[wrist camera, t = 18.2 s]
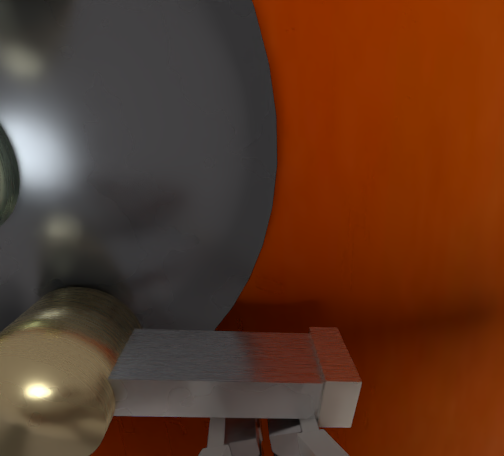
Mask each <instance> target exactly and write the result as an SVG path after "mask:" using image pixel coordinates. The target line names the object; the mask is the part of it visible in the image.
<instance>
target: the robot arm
mask: <svg viewBox="0 0 504 456" xmlns="http://www.w3.org/2000/svg"><path fill="white" fill-rule="evenodd" d="M268 428H269V437H270V442H271V447H272V452H274V456H349V455H348V454H347V453H346V452H345V451H344V450H343V449H342V448H341V447H340V446H339V444H338V443H337V442H336V441H335V440H334V439H333V438H332V437H331V436H330V435H329V434H328V433H327V432H326V431H325V430H324V429H320V430H319V427H318V424H317V420H316V419H285V418H268ZM262 440H263V435H262V425H261V418H220V417H210V424H209V433H208V443H207V448H203V449H202V450H201V452H200V453H199V455H198V456H264V452H263V448H262V443H261V442H262Z"/></svg>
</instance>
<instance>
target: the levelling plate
mask: <svg viewBox="0 0 504 456" xmlns="http://www.w3.org/2000/svg"><path fill="white" fill-rule="evenodd" d="M276 169H277V132H276V111H275V104H274V97H273V90H272V83H271V75H270V68H269V63H268V59H267V55H266V51H265V47H264V43H263V39H262V36H261V32H260V28H259V24H258V20H257V16H256V13H255V9H254V6H253V3H252V0H0V332H1V331H3V330H4V329H5V328H6V327H7V326H8V325H10V324H11V323H12V322H13V321H14V320H16V319H17V318H18V317H19V316H20V315H21V314H23V313H24V312H25V311H26V310H27V309H29V308H30V307H31V306H32V305H33V304H34V303H36V302H37V301H38V300H39V299H40V298H42V297H43V296H44V295H46V294H48V293H50V292H52V291H54V290H57V289H61V288H67V287H85V288H91V289H96V290H99V291H102V292H105V293H107V294H109V295H111V296H113V297H115V298H117V299H118V300H120V301H121V302H122V303H124V304H125V305H126V306H127V307H128V308H129V309H130V310H131V311H132V312H133V313H134V314H135V316H136V317H137V319H138V320H139V322H140V324H141V327H142V329H165V330H201V331H214V330H215V329H216V327H217V326H218V325H219V324H220V322H221V321H222V320H223V318H224V317H225V316H226V315H227V313H228V312H229V311H230V310H231V308H232V307H233V305H234V304H235V302H236V300H237V298H238V297H239V295H240V293H241V292H242V290H243V288H244V286H245V285H246V283H247V281H248V279H249V278H250V275H251V273H252V270H253V268H254V265H255V263H256V260H257V258H258V255H259V253H260V250H261V248H262V245H263V242H264V238H265V234H266V230H267V226H268V222H269V218H270V214H271V210H272V204H273V196H274V187H275V178H276Z"/></svg>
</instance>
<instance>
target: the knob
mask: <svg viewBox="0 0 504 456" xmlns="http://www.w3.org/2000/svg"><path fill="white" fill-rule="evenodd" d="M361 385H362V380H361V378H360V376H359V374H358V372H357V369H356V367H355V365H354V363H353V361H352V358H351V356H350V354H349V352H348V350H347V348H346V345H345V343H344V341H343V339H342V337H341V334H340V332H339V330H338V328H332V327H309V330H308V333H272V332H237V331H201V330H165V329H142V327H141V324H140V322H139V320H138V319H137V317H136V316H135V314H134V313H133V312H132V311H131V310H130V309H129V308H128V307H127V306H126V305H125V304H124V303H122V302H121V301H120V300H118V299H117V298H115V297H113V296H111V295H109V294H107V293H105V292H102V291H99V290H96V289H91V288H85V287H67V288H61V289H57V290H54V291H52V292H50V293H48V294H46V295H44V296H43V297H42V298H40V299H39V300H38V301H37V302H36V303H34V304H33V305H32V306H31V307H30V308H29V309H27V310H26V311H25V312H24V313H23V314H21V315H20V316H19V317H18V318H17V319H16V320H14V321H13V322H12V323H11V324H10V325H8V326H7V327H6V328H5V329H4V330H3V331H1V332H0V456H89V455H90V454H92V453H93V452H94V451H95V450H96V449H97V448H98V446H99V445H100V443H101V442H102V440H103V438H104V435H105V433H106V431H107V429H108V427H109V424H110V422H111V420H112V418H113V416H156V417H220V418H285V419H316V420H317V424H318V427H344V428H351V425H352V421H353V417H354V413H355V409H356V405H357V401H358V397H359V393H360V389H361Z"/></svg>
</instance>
